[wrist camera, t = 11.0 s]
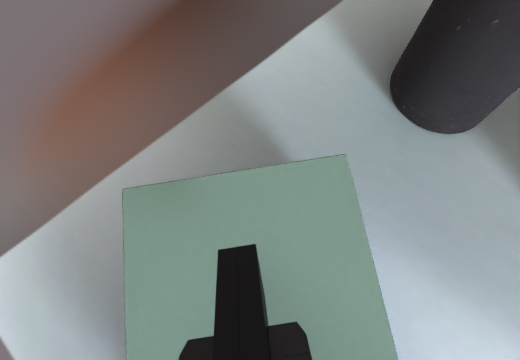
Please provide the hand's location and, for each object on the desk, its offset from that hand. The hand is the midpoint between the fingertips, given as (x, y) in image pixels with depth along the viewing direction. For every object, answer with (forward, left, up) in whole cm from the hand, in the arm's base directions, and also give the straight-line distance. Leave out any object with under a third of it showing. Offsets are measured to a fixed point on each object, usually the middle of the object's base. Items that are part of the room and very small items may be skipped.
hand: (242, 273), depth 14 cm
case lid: (0, -2, -5) cm, 5 cm away
